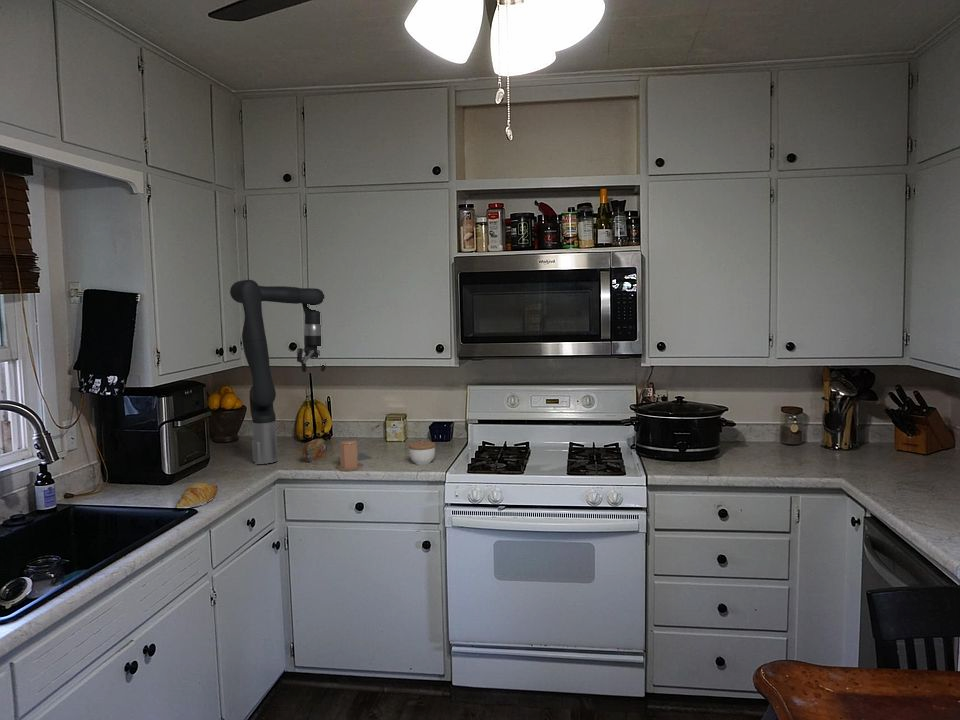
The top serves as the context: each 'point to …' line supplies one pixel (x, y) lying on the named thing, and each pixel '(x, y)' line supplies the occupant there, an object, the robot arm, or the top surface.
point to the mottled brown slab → (314, 450)
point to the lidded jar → (422, 452)
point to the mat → (360, 457)
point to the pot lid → (349, 468)
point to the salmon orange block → (348, 454)
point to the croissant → (197, 494)
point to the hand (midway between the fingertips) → (313, 371)
